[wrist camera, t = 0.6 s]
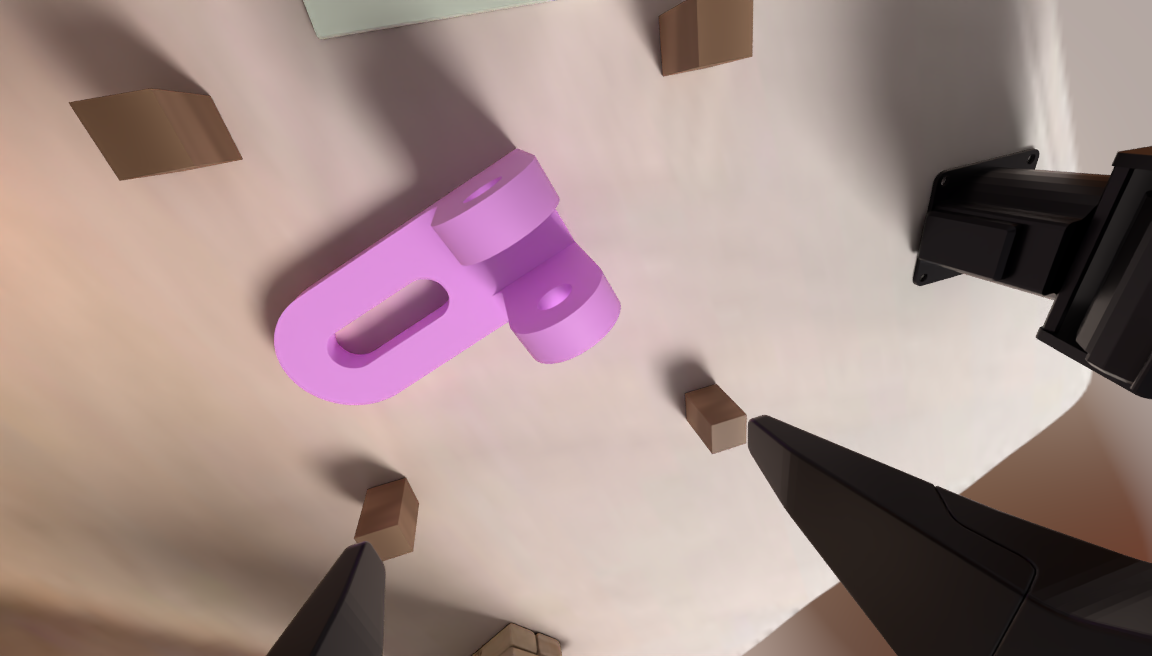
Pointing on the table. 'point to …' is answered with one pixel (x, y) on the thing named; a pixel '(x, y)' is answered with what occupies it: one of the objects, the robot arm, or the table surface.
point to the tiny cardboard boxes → (200, 138)
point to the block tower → (520, 644)
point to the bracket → (454, 289)
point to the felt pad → (393, 13)
